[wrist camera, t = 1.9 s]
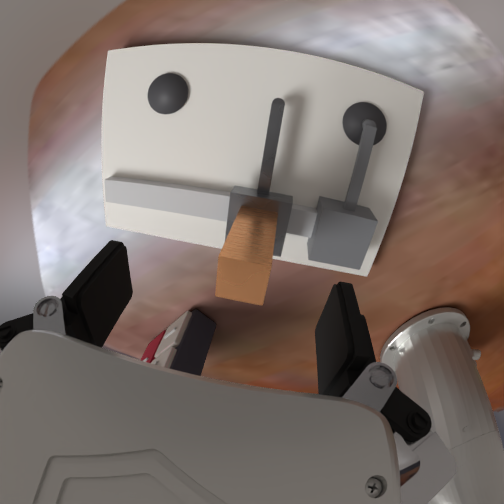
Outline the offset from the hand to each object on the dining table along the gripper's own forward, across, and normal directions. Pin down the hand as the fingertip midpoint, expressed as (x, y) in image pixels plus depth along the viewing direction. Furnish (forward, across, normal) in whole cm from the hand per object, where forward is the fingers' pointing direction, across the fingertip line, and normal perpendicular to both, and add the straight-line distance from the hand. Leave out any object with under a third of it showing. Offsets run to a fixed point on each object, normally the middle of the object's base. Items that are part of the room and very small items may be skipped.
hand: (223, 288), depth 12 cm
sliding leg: (+10, -1, -3) cm, 10 cm away
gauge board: (+12, +1, -3) cm, 12 cm away
